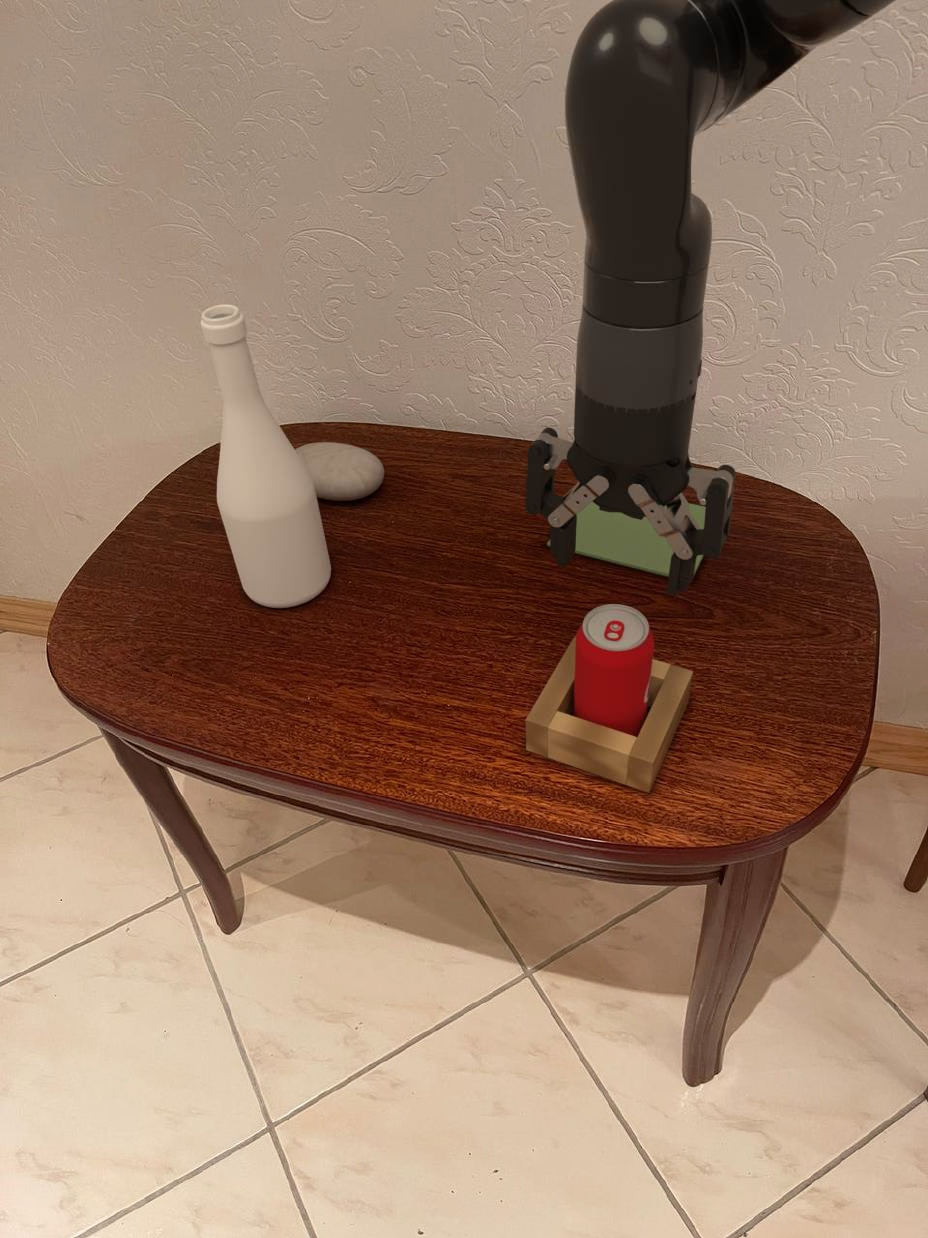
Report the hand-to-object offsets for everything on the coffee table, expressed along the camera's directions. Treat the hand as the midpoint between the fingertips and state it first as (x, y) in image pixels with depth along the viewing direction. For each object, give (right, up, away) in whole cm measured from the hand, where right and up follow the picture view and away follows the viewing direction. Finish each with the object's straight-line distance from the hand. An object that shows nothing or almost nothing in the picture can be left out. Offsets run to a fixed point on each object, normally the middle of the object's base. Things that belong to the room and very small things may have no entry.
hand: (619, 574), depth 66 cm
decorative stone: (-27, +12, +42) cm, 51 cm away
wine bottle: (-30, 0, +29) cm, 42 cm away
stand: (+1, -13, +12) cm, 17 cm away
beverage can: (+1, -13, +12) cm, 18 cm away
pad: (+8, +7, +32) cm, 34 cm away
